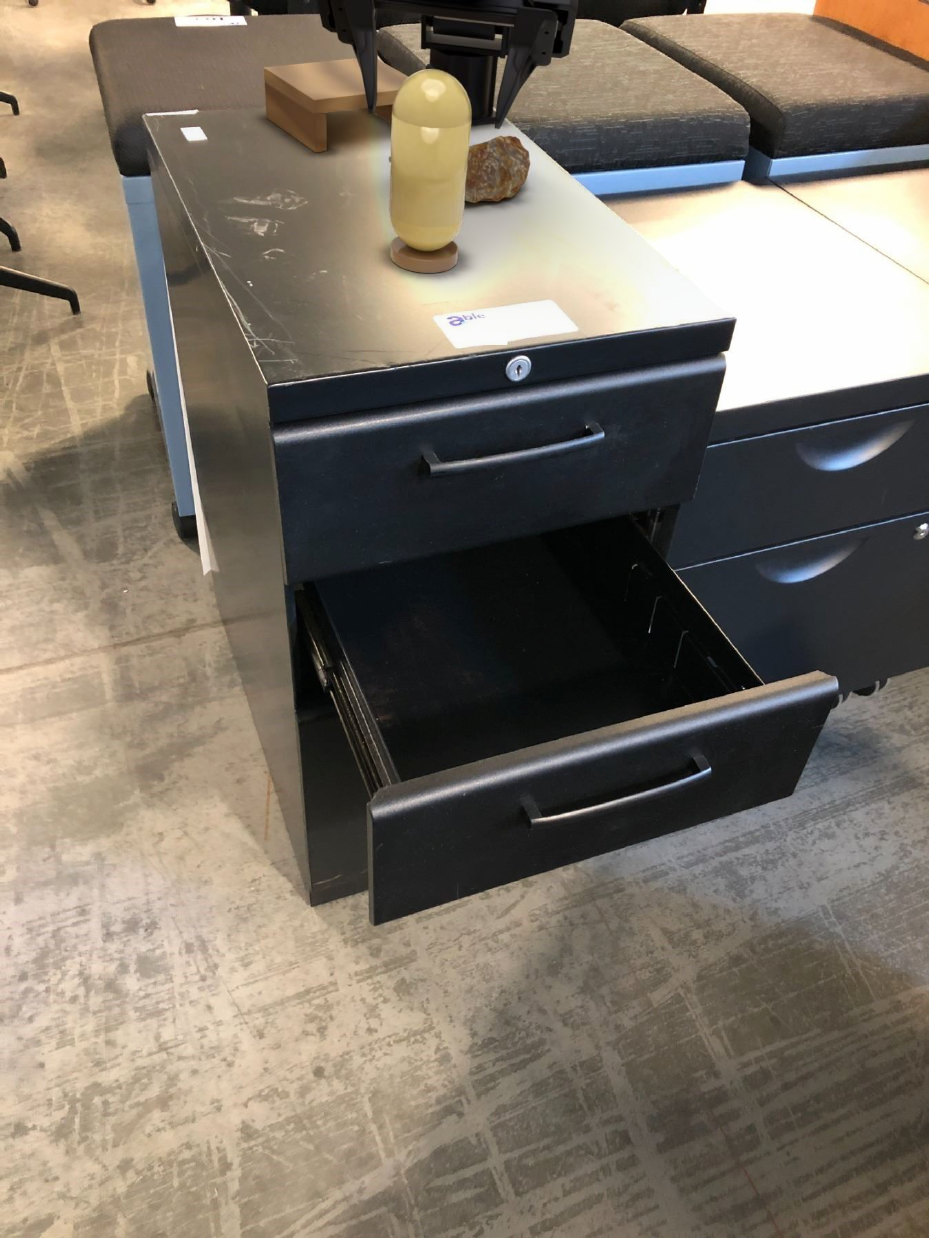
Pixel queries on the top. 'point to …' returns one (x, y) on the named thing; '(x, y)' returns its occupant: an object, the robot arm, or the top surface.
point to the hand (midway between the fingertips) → (434, 119)
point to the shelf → (323, 95)
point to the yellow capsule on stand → (428, 170)
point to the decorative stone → (495, 169)
